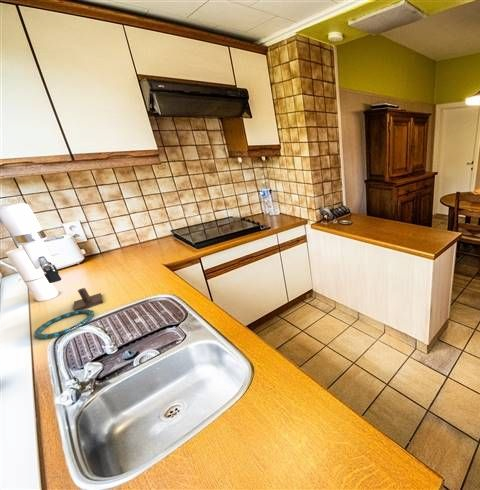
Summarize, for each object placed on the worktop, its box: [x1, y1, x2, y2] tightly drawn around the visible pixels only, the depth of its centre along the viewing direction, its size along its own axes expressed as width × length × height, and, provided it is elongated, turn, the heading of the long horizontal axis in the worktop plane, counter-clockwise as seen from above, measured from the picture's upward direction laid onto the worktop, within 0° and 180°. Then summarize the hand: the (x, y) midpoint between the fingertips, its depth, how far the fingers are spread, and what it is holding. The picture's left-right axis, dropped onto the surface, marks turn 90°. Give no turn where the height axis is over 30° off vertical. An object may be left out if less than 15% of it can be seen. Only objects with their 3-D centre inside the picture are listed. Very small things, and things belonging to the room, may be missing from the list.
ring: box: [33, 308, 95, 340], centre depth 107 cm, size 17×17×2 cm
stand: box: [73, 287, 104, 311], centre depth 119 cm, size 9×9×8 cm
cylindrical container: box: [5, 246, 59, 302], centre depth 123 cm, size 7×7×25 cm
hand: (54, 278), depth 103 cm, fingers open, 9 cm apart
